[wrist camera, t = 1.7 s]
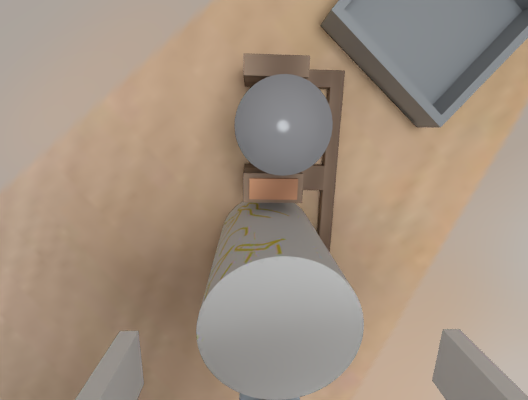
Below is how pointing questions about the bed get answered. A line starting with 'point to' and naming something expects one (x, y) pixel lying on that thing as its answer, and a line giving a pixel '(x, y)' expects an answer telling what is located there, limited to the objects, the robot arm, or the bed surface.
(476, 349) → the robot arm
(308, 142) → the grey rounded cylinder
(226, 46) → the bed surface
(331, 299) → the light grey canister
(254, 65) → the clip rack
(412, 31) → the tray
